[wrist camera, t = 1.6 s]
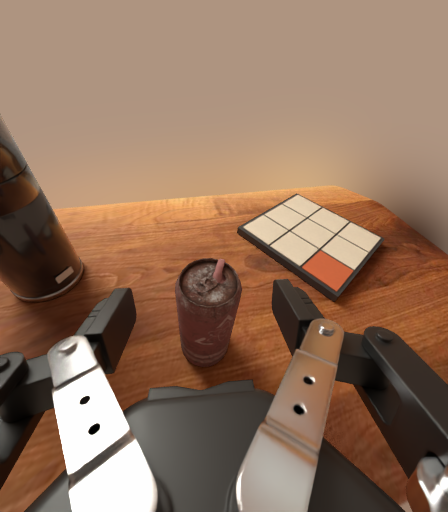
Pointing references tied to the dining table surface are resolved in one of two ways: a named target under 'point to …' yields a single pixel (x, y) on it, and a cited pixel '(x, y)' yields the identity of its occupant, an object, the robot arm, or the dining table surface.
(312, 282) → the board
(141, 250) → the dining table surface
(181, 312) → the can
